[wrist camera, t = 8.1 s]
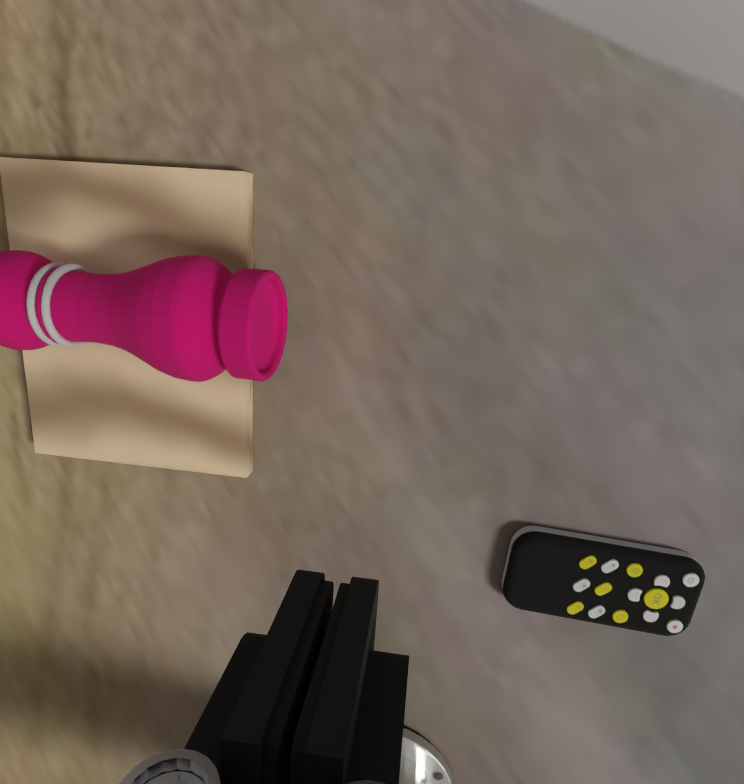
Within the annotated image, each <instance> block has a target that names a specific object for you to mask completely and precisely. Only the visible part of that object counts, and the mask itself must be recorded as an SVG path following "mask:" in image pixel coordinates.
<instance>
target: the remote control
mask: <svg viewBox="0 0 744 784" xmlns="http://www.w3.org/2000/svg"><path fill="white" fill-rule="evenodd" d="M704 580H705V575H704V571H703V569H702V567H701V565H700V564H699V562H698V561H697V560H696V559H695V558H694V557H693V556H692V555H691V554H689V553H687V552H684V551H681V550H675V549H669V548H663V547H658V546H652V545H646V544H640V543H634V542H628V541H622V540H617V539H611V538H605V537H599V536H593V535H587V534H582V533H576V532H570V531H564V530H558V529H552V528H546V527H541V526H526V527H523V528H521V529H519V530H518V531H517V532H516V533H515V534H514V535H513V536H512V539H511V541H510V546H509V550H508V555H507V559H506V564H505V568H504V572H503V577H502V590H503V594H504V597H505V598H506V600H507V601H508V602H509V603H510V604H511V605H512V606H514V607H516V608H519V609H522V610H528V611H533V612H538V613H544V614H549V615H555V616H560V617H566V618H571V619H577V620H582V621H587V622H593V623H598V624H604V625H609V626H615V627H620V628H625V629H631V630H636V631H642V632H647V633H653V634H658V635H665V636H671V635H676V634H679V633H681V632H682V631H684V630H685V629H686V628H687V627H688V625H689V623H690V621H691V618H692V615H693V613H694V610H695V607H696V604H697V601H698V599H699V596H700V593H701V590H702V587H703V584H704Z"/></svg>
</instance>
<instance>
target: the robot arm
mask: <svg viewBox="0 0 744 784" xmlns="http://www.w3.org/2000/svg"><path fill="white" fill-rule="evenodd" d="M333 587H334V585H333V582H331V581H325V575H324V573H320V572H312V571H305V570H297V571H296V573H295V575H294V577H293V579H292V581H291V584H290V586H289V588H288V590H287V592H286V595H285V597H284V599H283V601H282V603H281V606H280V608H279V610H278V612H277V614H276V617H275V619H274V621H273V623H272V625H271V628H270V630H269V632H268V634H267V635H262V634H255V633H248V632H247V633H246V634H244V636H243V637H242V639H241V640H240V642H239V644H238V646H237V648H236V650H235V652H234V654H233V656H232V658H231V660H230V661H229V663H228V665H227V667H226V669H225V671H224V673H223V675H222V677H221V679H220V681H219V683H218V685H217V687H216V689H215V690H214V692H213V694H212V696H211V698H210V700H209V702H208V704H207V706H206V708H205V710H204V712H203V714H202V716H201V718H200V719H199V721H198V723H197V725H196V727H195V729H194V731H193V733H192V735H191V737H190V739H189V741H188V743H187V745H186V747H185V749H174V750H166V751H163V752H161V753H158V754H156V755H153V756H150V757H149V758H147V759H146V760H144V761H143V762H141V763H140V764H138V765H137V766H135V767H134V768H133V769H132V770H131V771H130V772H129V773H128V774H127V775H126V776H125V777H124V778H123V779H122V781H121V782H120V783H119V784H453V779H452V775H451V772H450V769H449V766H448V765H447V763H446V761H445V760H444V758H443V757H442V755H441V754H440V753H439V752H438V751H437V750H436V749H435V747H434V746H433V745H431V744H430V743H429V742H428V741H426V740H425V739H424V738H422V737H421V736H419V735H417V734H415V733H414V732H412V731H410V730H408V729H405V728H403V726H404V714H405V701H406V689H407V676H408V663H409V656H407V655H400V654H394V653H387V652H380V651H374V640H375V627H376V614H377V601H378V588H379V580H374V579H366V578H358V577H352V579H351V582H350V584H346V583H341V584H340V587H339V590H338V593H337V596H336V600H335V603H334V606H333ZM332 607H333V610H332Z"/></svg>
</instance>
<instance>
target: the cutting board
mask: <svg viewBox="0 0 744 784" xmlns="http://www.w3.org/2000/svg"><path fill="white" fill-rule="evenodd" d="M0 175H1V183H2V191H3V199H4V207H5V215H6V223H7V231H8V239H9V247H10V250H22V251H29V252H34V253H37V254H39V255H42V256H44V257H46V258H47V259H49V260H51V261H52V262H53V263H54V262H62V263H65V264H78V265H81V266H83V267H85V268H86V269H88V270H89V271H90V272H91V273H94V274H119V273H124V272H129V271H132V270H135V269H138V268H141V267H144V266H146V265H149V264H152V263H154V262H157V261H160V260H162V259H166V258H171V257H176V256H189V255H203V256H208V257H211V258H214V259H216V260H218V261H219V262H221V263H222V264H223V265H224V266H225V267H226V268H228V269H229V270H230V272H231V273H232V274H233V275H234V274H235V273H236V272H237V271H238V270H240V269H243V268H248V269H253V174H252V173H249V172H246V171H229V170H211V169H194V168H177V167H160V166H143V165H126V164H109V163H92V162H75V161H58V160H41V159H23V158H6V157H0ZM22 352H23V360H24V368H25V376H26V384H27V392H28V400H29V408H30V416H31V424H32V432H33V440H34V448H35V453H40V454H49V455H57V456H66V457H74V458H83V459H91V460H100V461H108V462H117V463H125V464H133V465H142V466H150V467H159V468H167V469H176V470H184V471H193V472H201V473H210V474H218V475H227V476H235V477H244V478H247V477H248V476H249V474H250V473H251V472H252V471H253V380H247V379H238V378H234V377H232V376H231V375H230V374H229V373H228V371H227V370H225V371H224V372H222V373H221V374H220V375H218V376H216V377H214V378H212V379H210V380H207V381H203V382H192V381H187V380H183V379H178V378H174V377H172V376H170V375H167V374H165V373H163V372H160V371H158V370H156V369H155V368H153V367H152V366H150V365H148V364H147V363H145V362H144V361H142V360H141V359H139V358H138V357H136V356H134V355H133V354H131V353H129V352H127V351H125V350H123V349H120V348H117V347H115V346H111V345H106V344H100V343H95V342H88V343H86V344H84V345H83V346H80V347H77V348H67V347H64V346H52V345H48V346H46V347H44V348H40V349H35V350H22Z"/></svg>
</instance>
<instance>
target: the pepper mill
mask: <svg viewBox="0 0 744 784" xmlns="http://www.w3.org/2000/svg"><path fill="white" fill-rule="evenodd" d="M287 321H288V311H287V298H286V292H285V289H284V286H283V283H282V281H281V279H280V277H279V275H277V274H276V273H275V272H274V271H270V270H260V269H248V268H243V269H240V270H238V271H237V272H236V273H235V274H234V275H233V274H232V273H231V272H230V270H229V269H228V268H226V267H225V266H224V265H223V264H222V263H221V262H219V261H218V260H216V259H214V258H211V257H208V256H203V255H189V256H176V257H171V258H166V259H162V260H160V261H157V262H154V263H152V264H149V265H146V266H144V267H141V268H138V269H135V270H132V271H129V272H124V273H119V274H94V273H91V272H90V271H89V270H88V269H86V268H85V267H83V266H81V265H78V264H65V263H62V262H54V263H53V262H52V261H51V260H49V259H47V258H46V257H44V256H42V255H39V254H37V253H34V252H29V251H22V250H10V251H2V252H0V345H1V346H3V347H7V348H11V349H15V350H35V349H40V348H44V347H46V346H48V345H52V346H64V347H67V348H77V347H80V346H83V345H84V344H86V343H88V342H95V343H100V344H106V345H111V346H115V347H117V348H120V349H123V350H125V351H127V352H129V353H131V354H133V355H134V356H136V357H138V358H139V359H141V360H142V361H144V362H145V363H147V364H148V365H150V366H152V367H153V368H155V369H156V370H158V371H160V372H163V373H165V374H167V375H170V376H172V377H174V378H178V379H183V380H187V381H192V382H203V381H207V380H210V379H212V378H214V377H216V376H218V375H220V374H221V373H222V372H224V371H225V370H227V371H228V373H229V374H230V375H231V376H232V377H234V378H238V379H247V380H255V381H265V380H268V379H269V378H270V377H271V376H272V375H273V374H274V372H275V371H276V369H277V367H278V365H279V363H280V360H281V357H282V354H283V350H284V346H285V341H286V333H287Z"/></svg>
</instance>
